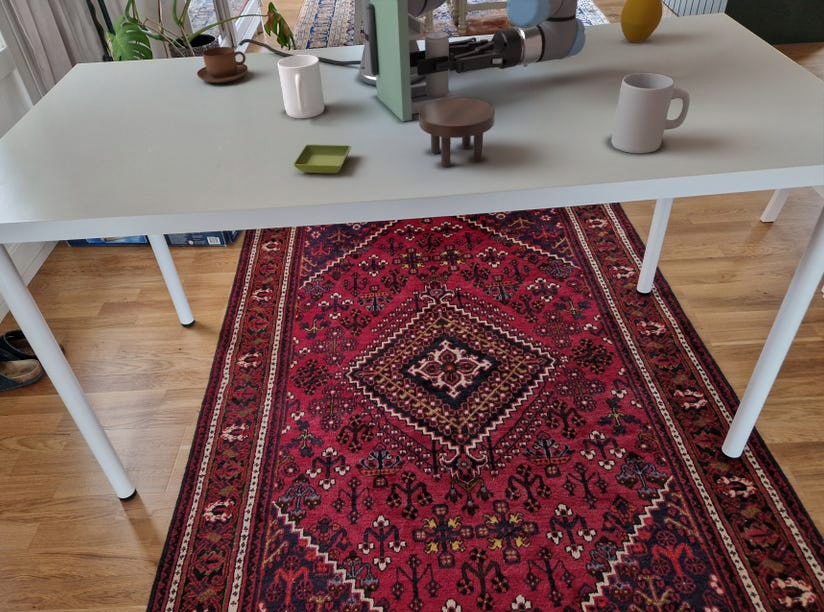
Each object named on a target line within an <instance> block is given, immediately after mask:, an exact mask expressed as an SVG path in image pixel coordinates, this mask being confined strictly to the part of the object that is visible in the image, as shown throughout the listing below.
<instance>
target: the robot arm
mask: <svg viewBox="0 0 824 612" xmlns="http://www.w3.org/2000/svg"><path fill="white" fill-rule="evenodd" d="M578 1H579V0H507V3H506V15H507V16H508V19H509V21H510V22H511V23H512V24H513V25H514V26H515V27H508V28H502V29H498V30H496V31H495V32H494V34H493V36H492V38H491V39H490V40H489V39H487V38H486V39H480V40H477V37H475V36H474V37H470V38H467V39H462V40H456V41H449V60H448V56H441V57H435V58H429V59H425V49H423V50H420V47H419V44H418V41H417V39H415V40H409V56H410V82H411V84H414V83H417V82H418V81H420V80H422V79H423V78H424V77H425V76H426V74H431V73H437V72H443V71H448V69H449V72H455V73H456V74H464V73H469V72H475V71H480V70H485V69H486V70H487V69H493V68H498V69H500V70H503V69H508V68H509V69H510V68H515V67H516V66H518V67H519V66H520V67H521V66H523V67H524V68H525V67H528V65H530V64H537V63H541V62H549V61H556V60H564V59H566V58H570V57H573V56H577V55H579V53H581V52H582V50H583V48H584V46H585V43H586V38H587V37H586V36H587V34H586V32H585V31H586V27H585V24H584V22H583V21H582V20H581V19H580V18H578V17H577V8H578ZM446 2H448V0H407V3H408V13H409V14H410V15H412V16H414V17H415V18H417V17H420V16H423V15H425V14H427V13H429V12H432V11H435V10H438V9H439V8H440V7H441V6H443V5H444V4H445V3H446ZM368 4H370V0H361V11H362V24H363V35H364V46H363V50H362V56H361V59H360V60H336V59H331V58H326V57H323V56H316V57H317V58H318V59H319V62H324V63H327V64H332V65H338V66H353V65H354V66H357V65H358V66H359V69H358V71H359V79H360V81H361V82H363V83H365V84H367V85H371V86H376V76H374V75H372V73H371V62H370V49H369V36H368V23H367V10H366V7H367V5H368ZM246 43H250V44H253V45H256V46H260V47H263V48H266V49H267V50H268V51H270V52H271V53H274V54H277V55H279V56H282V57H284V58H286V57H290V56H295V55H296V54H292V53H287V52H283V51H280V50H278V49H276V48H273V47H272V46H270V45H268V44H267V43H265V42H262V41H261V42H260V41H257V40H254V39H251V38H243V39H242V40H241V41H240V42H239V43H238V46H240V47H242V46H243V45H244V44H246ZM376 87H377V86H376Z"/></svg>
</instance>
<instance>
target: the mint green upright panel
mask: <svg viewBox="0 0 824 612" xmlns="http://www.w3.org/2000/svg"><path fill="white" fill-rule="evenodd" d="M366 10H367V23H368V36H369V49H370V62H371V73H372V75H374V76H376V98H378V100H380V101H381V102H382V104H384V105H385V106H386V107H387V108H388V109H389V110H390V111H391V112H392V113H393V114H394V115H395V116H396V117H397V118H398V119H400V121H402V122H403V123H404V122H408V121H412V120H413V115H414V114H415V115H416V114H419V111H420V109H421V108H422V107H423V106H425V105H427V104H429V103H431V102H435V101H438V100H443V99H451V98H461V94H459V93H457V94H451V95H447V96H446V97H441V98H435V99H431V98H429V99H426V100H425V99H424V100H420V101H419V100H418V101H415V102H412V98H415V97H419V96H420V97H421V96H427V95H426V83H423V84H418V85H412V83H411V82H410V56H409V40H415V39H416V40H420V39H421V40H422V39H423V38H424V22H423V21H422V20H420V19H419V18H417V17H416V18H415V17H414V16H412V15H410V14H409V13H408V3H407V0H370V4H368V5H367V7H366Z"/></svg>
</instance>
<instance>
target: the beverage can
mask: <svg viewBox="0 0 824 612" xmlns="http://www.w3.org/2000/svg"><path fill="white" fill-rule="evenodd" d="M449 42H450V39H449V33H448V32H445V31H431V32H429V33H426V34H425V38H424V50H425V59H429V58H435V57H441V56H448V60H449ZM449 72H450V69H448V71H443V72H437V73H431V74H425V84H426V95H425V96H427V98H429V99H435V98H441V97H446V96H449V87H450V85H449V83H450V82H449V81H450V79H449V78H450V77H449V75H450V74H449Z"/></svg>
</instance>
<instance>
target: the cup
mask: <svg viewBox="0 0 824 612" xmlns="http://www.w3.org/2000/svg"><path fill="white" fill-rule="evenodd" d="M294 55H295V56H290V57H283V58H281V59H279V60H278V61H277V68H278V69H277V70H278V75H279V80H280V86H281V92H282V98H283V105H284V109H285V113H286V114H287V116H288V117H291V118H293V119H311V118H314V117H317V116H319V115H321V114H322V113H324V111H325V98H324V90H323V82H322V74H321V67H320V61H319V59H318V58H317V57H318V56H315V55H312V54H294Z"/></svg>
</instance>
